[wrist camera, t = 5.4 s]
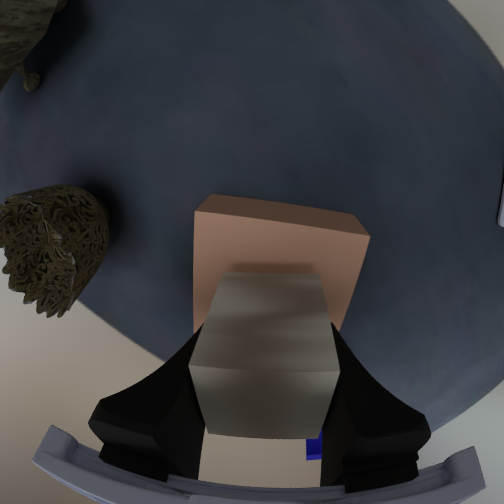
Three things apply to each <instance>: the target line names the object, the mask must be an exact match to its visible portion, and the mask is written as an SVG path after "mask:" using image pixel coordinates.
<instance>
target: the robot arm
mask: <svg viewBox="0 0 504 504" xmlns="http://www.w3.org/2000/svg"><path fill="white" fill-rule="evenodd" d="M498 224H499V225H500V226H502V227H504V185H503V192H502V198H501V204H500V210H499V215H498ZM330 323H331V328H332V332H333V337H334V342H335V347H336V352H337V357H338V363H339V368H340V373H339V376H338V380H337V383H336V386H335V390H334V393H333V396H332V399H331V402H330V405H329V408H328V411H327V414H326V417H325V420H324V423H323V426H322V463H321V479H320V487H311V488H262V487H247V486H235V485H227V484H219V483H212V482H206V481H200V480H198V475H199V466H200V457H201V450H202V443H203V436H204V431H205V422H204V418H203V415H202V412H201V409H200V405H199V402H198V398H197V395H196V391H195V388H194V384H193V380H192V377H191V373H190V369H189V362H190V359H191V357H192V354H193V351H194V349H195V346H196V343H197V341H198V338H199V335H200V332H201V330H202V327H203V325H204V323H203V324H202V325H201V326H200V328H199V329H198V330H197V331H196V332H195V334H194V335H193V336H192V337H191V338H190V339H189V340H188V341H187V342H186V344H185V345H184V346H183V347H182V348H181V349H180V350H179V351H178V352H177V353H176V354H175V355H174V356H172V357H171V358H170V359H169V360H168V361H167V362H166V363H165V364H163V365H162V366H161V367H160V368H158V369H157V370H156V371H154V372H153V373H152V374H150V375H149V376H147V377H146V378H144V379H143V380H141V381H139V382H138V383H136V384H134V385H133V386H131V387H129V388H127V389H125V390H123V391H120V392H118V393H116V394H113V395H111V396H108V397H106V398H103V399H101V400H100V401H99V403H98V404H97V406H96V408H95V410H94V412H93V414H92V416H91V418H90V420H89V421H88V424H89V427H90V429H91V430H92V431H93V432H94V434H95V435H96V436H97V437H98V438H99V439H100V440H101V441H102V442H103V443H104V445H103V447H102V450H101V452H99V451H96V450H94V449H91V448H89V447H87V446H85V445H82V444H80V443H78V441H77V440H76V439H75V438H74V437H73V436H72V435H70V434H69V433H67V432H65V431H63V430H61V429H59V428H57V427H55V426H53V425H51V426H50V427H49V429H48V431H47V433H46V435H45V436H44V438H43V440H42V442H41V444H40V445H39V448H38V449H37V451H36V453H35V455H34V457H33V459H32V462H33V463H34V464H36V465H37V466H38V467H40V468H41V469H42V470H43V471H45V472H46V473H48V474H49V475H51V476H52V477H53V478H55V479H56V480H58V481H59V482H61V483H63V484H64V485H66V486H68V487H70V488H72V489H74V490H75V491H77V492H79V493H81V494H83V495H85V496H87V497H89V498H91V499H93V500H95V501H97V502H99V503H101V504H459V503H461V502H463V501H465V500H466V499H468V498H470V497H472V496H473V495H475V494H477V493H478V492H480V491H482V490H483V489H485V487H486V485H485V481H484V478H483V473H482V470H481V466H480V463H479V460H478V456H477V453H476V450H475V447H474V446H472V447H469V448H467V449H464V450H462V451H459V452H457V453H455V454H453V455H451V456H450V457H448V458H447V459H446V460H445V461H444V462H442V463H439V464H436V465H434V466H430V467H427V468H424V469H420V470H418V468H417V463H416V461H417V460H418V459H419V456H418V451H419V450H420V449H421V448H422V447H423V446H424V445H425V444H426V443H427V441H428V440H429V439H430V437H431V431H430V428H429V425H428V422H427V420H426V418H425V415H424V414H422V413H420V412H418V411H417V410H415V409H413V408H411V407H410V406H408V405H406V404H405V403H403V402H402V401H401V400H399V399H398V398H396V397H395V396H394V395H392V394H391V393H390V392H389V391H388V390H386V389H385V388H384V387H383V386H382V385H381V384H379V383H378V382H377V381H376V380H375V379H374V378H373V377H372V376H371V375H370V374H369V372H368V371H367V370H366V369H365V368H364V367H363V366H362V364H361V363H360V362H359V361H358V359H357V358H356V357H355V356H354V354H353V353H352V351H351V350H350V349H349V347H348V346H347V344H346V343H345V341H344V340H343V338H342V337H341V335H340V333H339V332H338V330H337V328H336V327H335V325H334V324H333V323H332V322H330ZM184 494H186V495H190V496H186V495H184Z"/></svg>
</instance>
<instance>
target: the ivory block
mask: <svg viewBox="0 0 504 504" xmlns="http://www.w3.org/2000/svg"><path fill="white" fill-rule="evenodd" d="M189 369H190V373H191V377H192V380H193V384H194V388H195V391H196V395H197V398H198V402H199V405H200V409H201V412H202V415H203V418H204V422H205V425H206V428H207V431H208V433H210V434H217V435H226V436H236V437H248V438H264V439H318V436H319V434H320V431H321V428H322V426H323V423H324V420H325V417H326V414H327V411H328V408H329V405H330V402H331V399H332V396H333V393H334V390H335V386H336V383H337V380H338V376H339V373H340V368H339V363H338V357H337V352H336V347H335V342H334V337H333V332H332V328H331V323H330V318H329V314H328V309H327V305H326V300H325V296H324V292H323V287H322V283H321V279H320V275H319V274H286V273H243V272H223V275H222V277H221V280H220V283H219V285H218V288H217V290H216V293H215V296H214V298H213V301H212V303H211V306H210V309H209V311H208V314H207V317H206V319H205V322H204V325H203V327H202V330H201V332H200V335H199V338H198V341H197V343H196V346H195V349H194V351H193V354H192V357H191V359H190V362H189Z"/></svg>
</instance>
